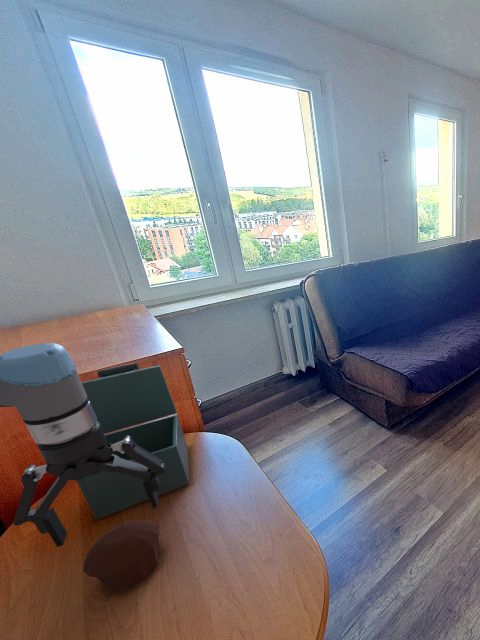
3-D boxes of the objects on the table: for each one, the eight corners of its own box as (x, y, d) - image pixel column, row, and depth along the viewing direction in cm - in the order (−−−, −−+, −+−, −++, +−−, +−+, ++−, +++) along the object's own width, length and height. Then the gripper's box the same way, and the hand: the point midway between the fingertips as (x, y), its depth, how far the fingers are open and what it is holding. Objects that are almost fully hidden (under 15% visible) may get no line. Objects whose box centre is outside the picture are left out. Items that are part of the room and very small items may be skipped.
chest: (189, 483, 89) (176, 446, 85) (95, 519, 79) (75, 479, 75) (188, 448, 102) (177, 413, 97) (107, 475, 92) (90, 438, 87)
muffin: (173, 533, 76) (161, 501, 73) (161, 581, 67) (146, 547, 63) (106, 556, 71) (90, 523, 68) (84, 611, 62) (63, 576, 59)
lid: (159, 366, 88) (159, 351, 93) (61, 388, 78) (67, 370, 83) (176, 413, 96) (175, 397, 102) (89, 438, 87) (93, 419, 92)
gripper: (-61, 480, 47) (7, 577, 55) (158, 416, 60) (189, 502, 68) (-35, 448, 53) (24, 540, 60) (160, 397, 66) (188, 478, 74)
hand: (111, 520), depth 64 cm, fingers open, 13 cm apart
